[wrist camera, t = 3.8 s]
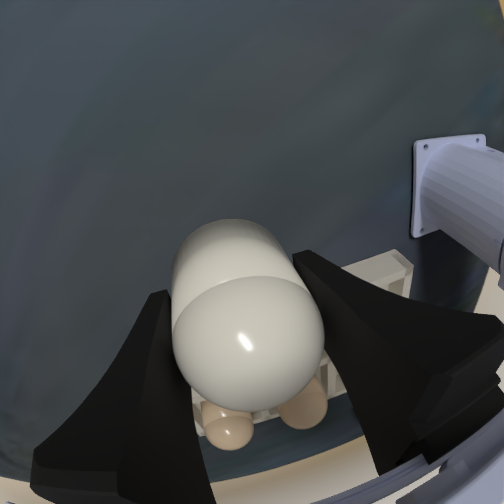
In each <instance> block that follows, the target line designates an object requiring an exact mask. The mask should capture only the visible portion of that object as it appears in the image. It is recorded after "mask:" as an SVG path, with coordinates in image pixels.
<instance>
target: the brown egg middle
mask: <svg viewBox="0 0 504 504" xmlns="http://www.w3.org/2000/svg"><path fill="white" fill-rule="evenodd" d="M327 407H328V402H327V398H326V395H325V393H324V391H323V389H322V387H321V385H320V383H319V381H318V378H317V376H316V374H315V375H314V377H313V378H312V380H311V381H310V382H309V384H308V385H307V386H306V387H305V388H304V389H303V390H302V391H301V392H300V393H299V394H298V395H297V396H295V397H294V398H293V399H291V400H290V401H288V402H286V403H285V404H283V405H281V406H278V407H277V409H278V412H279V415H280V417H281V419H282V420H283V421H284V422H285V423H286V424H287V425H289V426H290V427H293V428H296V429H308V428H311V427H313V426H315V425H317V424H318V423H319V422H320V421H321V420H322V419H323V418H324V416H325V414H326V412H327Z"/></svg>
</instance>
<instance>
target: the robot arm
mask: <svg viewBox="0 0 504 504" xmlns="http://www.w3.org/2000/svg"><path fill="white" fill-rule="evenodd" d="M424 145H425V148H424ZM413 152H414V178H413V206H412V222H411V235H412V236H413V237H415V238H417V237H420V236H423V235H425V234H428V233H431V232H433V231H436V230H439V229H441V230H442V231H443V232H445V233H446V234H448V235H449V236H450V237H452V238H453V239H455V240H456V241H457V242H459V243H460V244H461V245H463V246H464V247H465V248H467V249H468V250H469V251H471V252H472V253H473V254H475V255H476V256H477V257H479V258H480V259H481V260H482V261H484V262H485V263H486V264H487V265H489V266H490V267H491V268H492V269H494V270H495V271H496V272H497V273H498V274H500V279H499V282H498V286H499V287H500V288H501V289H503V290H504V153H502V152H500V151H497V150H495V149H492V148H490V147H487V146H486V138H485V135H483V134H472V135H461V136H451V137H441V138H433V139H425V140H418V141H416V142H415V143H414V147H413ZM292 256H293V264H294V268H295V270H296V271H297V273H298V275H299V276H300V278H301V279H302V281H303V283H304V284H305V286H306V288H307V289H308V291H309V292H310V294H311V296H312V297H313V299H314V301H315V303H316V304H317V307H318V309H319V311H320V314H321V317H322V321H323V325H324V335H325V340H324V350H325V351H326V353H327V355H328V356H329V358H330V360H331V361H332V363H333V365H334V366H335V368H336V370H337V372H338V374H339V375H340V377H341V380H342V382H343V384H344V386H345V389H346V391H347V393H348V395H349V398H350V400H351V402H352V405H353V407H354V410H355V412H356V414H357V417H358V419H359V422H360V425H361V427H362V430H363V432H364V435H365V438H366V440H367V443H368V446H369V449H370V452H371V455H372V458H373V461H374V464H375V467H376V470H377V473H378V475H379V477H377V478H375V479H373V480H370V481H368V482H366V483H364V484H361V485H359V486H357V487H354V488H352V489H350V490H347V491H345V492H342V493H339V494H337V495H334V496H331V497H329V498H326V499H323V500H320V501H317V502H314V503H311V504H372V503H374V502H376V501H378V500H380V499H382V498H385V497H386V496H389V495H390V494H392V493H394V492H396V491H398V490H400V489H402V488H404V487H406V486H408V485H409V484H411V483H413V482H415V481H416V480H418V479H420V478H422V477H423V476H425V475H426V474H428V473H430V472H431V471H433V470H434V469H436V468H437V467H439V466H441V467H440V469H439V474H438V475H436V476H435V477H433V478H432V479H430V480H429V481H427V482H425V483H424V484H422V485H420V486H419V487H417V488H415V489H414V490H413V491H411V492H410V493H408V494H406V495H405V496H403V497H401V498H399V499H398V500H396V504H501V503H502V502H503V501H504V393H503V392H502V390H501V389H500V388H499V387H498V384H499V383H500V382H501V380H500V378H499V376H498V375H497V374H496V371H497V369H498V368H499V366H500V365H501V363H502V362H503V360H504V324H503V323H502V322H501V321H500V320H499V319H498V318H497V317H496V316H495V315H488V314H478V313H469V312H462V311H456V310H451V309H446V308H441V307H437V306H433V305H429V304H426V303H422V302H419V301H415V300H412V299H409V298H406V297H403V296H400V295H398V294H395V293H392V292H390V291H387V290H385V289H382V288H380V287H378V286H375V285H373V284H371V283H369V282H367V281H365V280H363V279H361V278H359V277H357V276H355V275H353V274H351V273H349V272H347V271H345V270H344V269H342V268H340V267H338V266H336V265H335V264H333V263H331V262H330V261H328V260H326V259H324V258H323V257H321V256H319V255H318V254H316V253H314V252H312V251H310V250H305V251H302V252H298V253H295V254H292ZM30 488H31V489H32V490H33V492H35V494H37V495H38V496H40V497H42V498H44V499H46V500H48V501H51V502H53V503H55V504H216V501H215V498H214V495H213V492H212V489H211V486H210V482H209V479H208V476H207V472H206V469H205V465H204V461H203V457H202V453H201V449H200V445H199V441H198V436H197V431H196V426H195V421H194V414H193V404H192V389H191V386H190V385H189V384H188V382H187V381H186V380H185V378H184V377H183V375H182V373H181V371H180V369H179V367H178V365H177V362H176V359H175V356H174V352H173V344H172V300H171V298H170V296H169V293H168V291H167V289H166V290H162V291H159V292H155V293H151V294H150V295H149V297H148V299H147V301H146V303H145V305H144V307H143V308H142V310H141V312H140V314H139V316H138V318H137V320H136V322H135V324H134V326H133V328H132V330H131V331H130V333H129V335H128V337H127V339H126V341H125V342H124V344H123V346H122V347H121V349H120V351H119V352H118V354H117V356H116V358H115V359H114V361H113V362H112V364H111V365H110V367H109V369H108V370H107V371H106V373H105V374H104V376H103V377H102V379H101V380H100V381H99V383H98V384H97V385H96V387H95V388H94V389H93V390H92V392H91V393H90V394H89V395H88V396H87V398H86V399H85V400H84V401H83V403H82V404H81V405H80V406H79V407H78V408H77V410H76V411H75V412H74V413H73V414H72V415H71V416H70V417H69V418H68V419H67V420H66V421H65V422H64V423H63V424H62V425H61V426H60V427H59V428H58V429H57V430H56V431H55V432H54V433H53V434H52V435H50V436H49V437H48V438H47V439H46V440H45V441H43V442H42V443H41V444H40V445H39V446H38V447H36V448H35V449H34V453H33V460H32V469H31V479H30ZM6 504H14V503H11V502H6Z"/></svg>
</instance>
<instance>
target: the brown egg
mask: <svg viewBox="0 0 504 504" xmlns="http://www.w3.org/2000/svg"><path fill="white" fill-rule="evenodd" d="M200 407H201V413H202V420H203V426H204V432H205V435H206V437H207V439H208V440H209V441H210V443H212V444H213V445H214V446H216V447H217V448H220V449H223V450H236V449H239V448H241V447H243V446H245V445H246V444H247V443H248V442H249V441H250V439H251V438H252V435H253V432H254V424H253V420H252V416H251V413H250V412H237V411H231V410H228V409H225V408H222V407H219V406H217V405H214V404H212V403H211V402H209V401H207V400H206V401H202V402H200Z"/></svg>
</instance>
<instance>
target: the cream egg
mask: <svg viewBox="0 0 504 504" xmlns="http://www.w3.org/2000/svg"><path fill="white" fill-rule="evenodd" d="M324 340H325V335H324V325H323V321H322V317H321V314H320V311H319V309H318V307H317V304H316V303H315V301H314V299H313V297H312V296H311V294H310V292H309V291H308V289H307V288H306V286H305V284H304V283H303V281H302V279H301V278H300V276H299V275H298V273H297V271H296V270H295V268H294V266H293V265H292V263H291V262H290V260H289V258H288V257H287V255H286V254H285V252H284V250H283V249H282V247H281V246H280V244H279V242H278V241H277V239H276V238H275V237H274V236H273V234H272V233H270V232H269V231H268V230H267V229H265V228H264V227H262V226H261V225H259V224H256V223H254V222H251V221H248V220H242V219H223V220H218V221H214V222H211V223H208V224H206V225H204V226H202V227H200V228H198V229H197V230H195V231H194V232H192V233H191V234H190V235H189V236H188V237H187V238H186V239H185V240H184V241H183V242H182V243H181V245H180V246H179V248H178V250H177V252H176V254H175V256H174V259H173V263H172V344H173V352H174V356H175V359H176V362H177V365H178V367H179V369H180V371H181V373H182V375H183V377H184V378H185V380H186V381H187V382H188V384H189V385H190V386H191V387H192V389H194V390H195V391H196V392H197V393H198V394H199V395H200V396H202V397H203V398H204V399H206V400H207V401H209V402H211V403H212V404H214V405H217V406H219V407H222V408H225V409H228V410H231V411H237V412H261V411H266V410H270V409H273V408H276V407H278V406H281V405H283V404H285V403H286V402H288V401H290V400H291V399H293V398H294V397H295V396H297V395H298V394H299V393H300V392H301V391H302V390H303V389H304V388H305V387H306V386H307V385H308V384H309V382H310V381H311V380H312V378H313V377H314V375H315V373H316V371H317V369H318V367H319V365H320V362H321V358H322V355H323V351H324Z"/></svg>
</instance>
